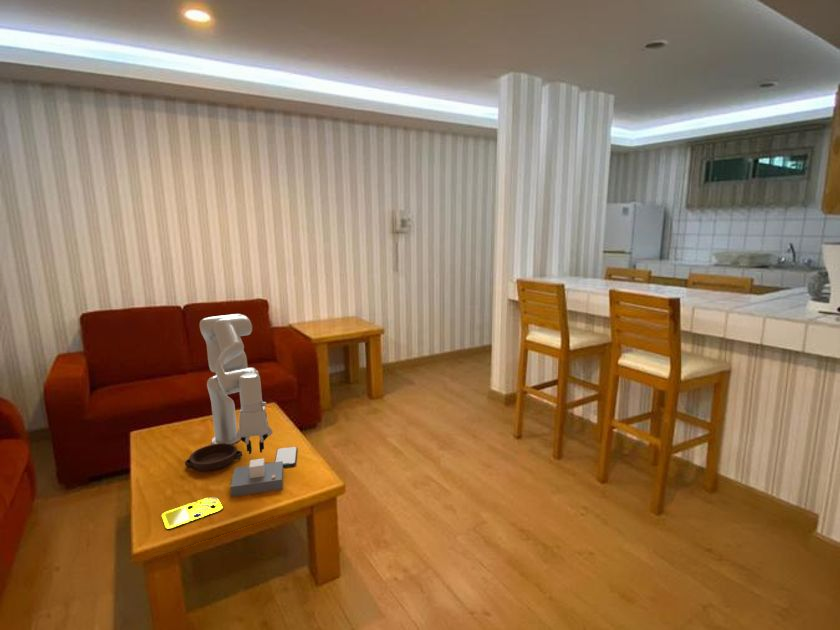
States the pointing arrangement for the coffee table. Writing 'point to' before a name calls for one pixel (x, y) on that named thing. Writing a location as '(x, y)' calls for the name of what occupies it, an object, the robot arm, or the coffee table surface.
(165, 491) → the coffee table surface
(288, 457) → the smartphone
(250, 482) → the socket
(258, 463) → the plug
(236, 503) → the coffee table surface
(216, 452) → the dish
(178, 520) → the game console
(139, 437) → the coffee table surface
